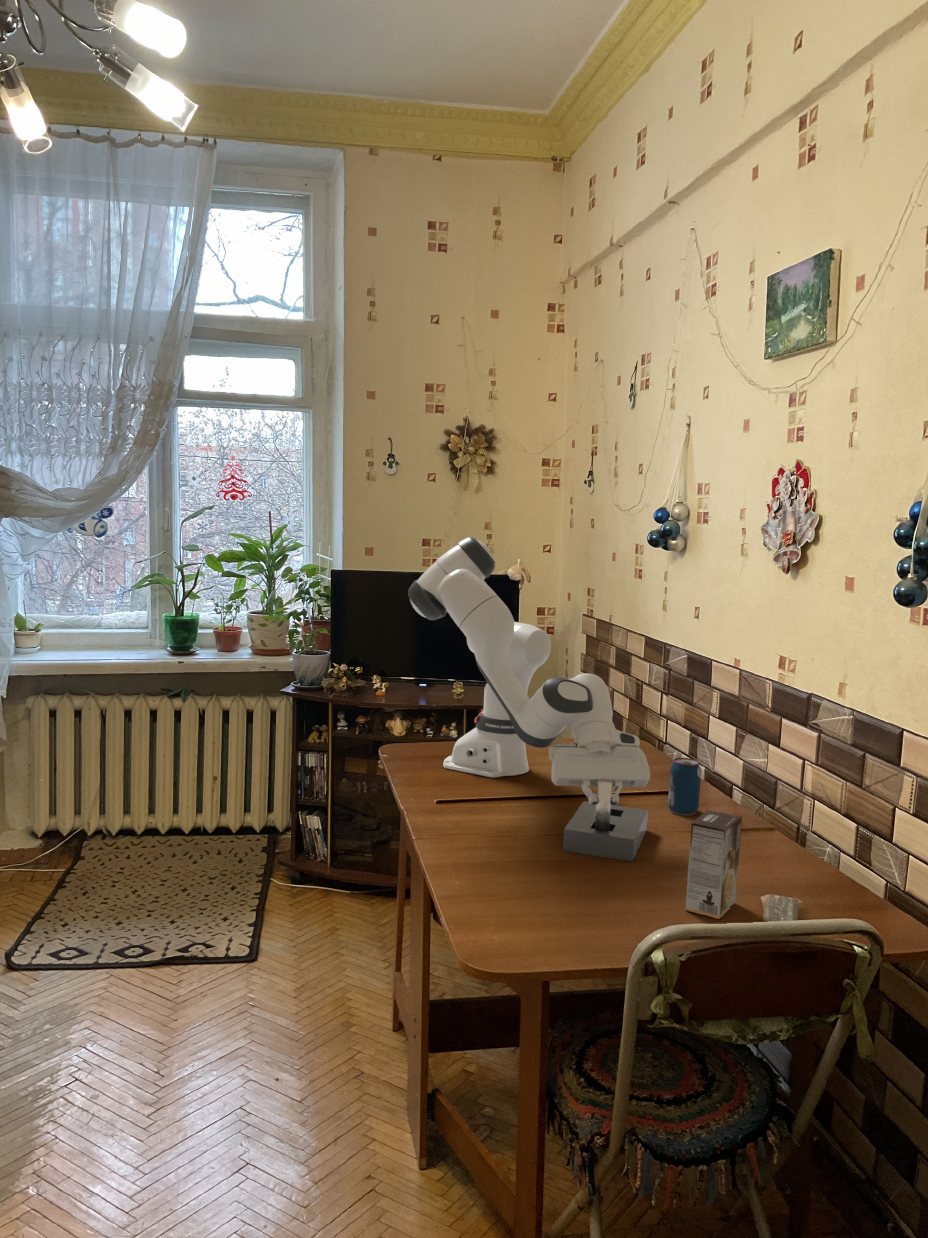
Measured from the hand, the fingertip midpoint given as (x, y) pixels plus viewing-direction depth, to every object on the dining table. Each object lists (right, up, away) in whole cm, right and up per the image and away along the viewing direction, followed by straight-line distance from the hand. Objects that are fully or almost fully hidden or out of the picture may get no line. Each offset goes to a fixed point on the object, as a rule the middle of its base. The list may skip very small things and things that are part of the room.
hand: (604, 803), depth 191 cm
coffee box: (+15, -13, -25) cm, 32 cm away
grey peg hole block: (+1, -9, +7) cm, 11 cm away
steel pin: (0, -5, +1) cm, 6 cm away
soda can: (+22, -7, +28) cm, 37 cm away
